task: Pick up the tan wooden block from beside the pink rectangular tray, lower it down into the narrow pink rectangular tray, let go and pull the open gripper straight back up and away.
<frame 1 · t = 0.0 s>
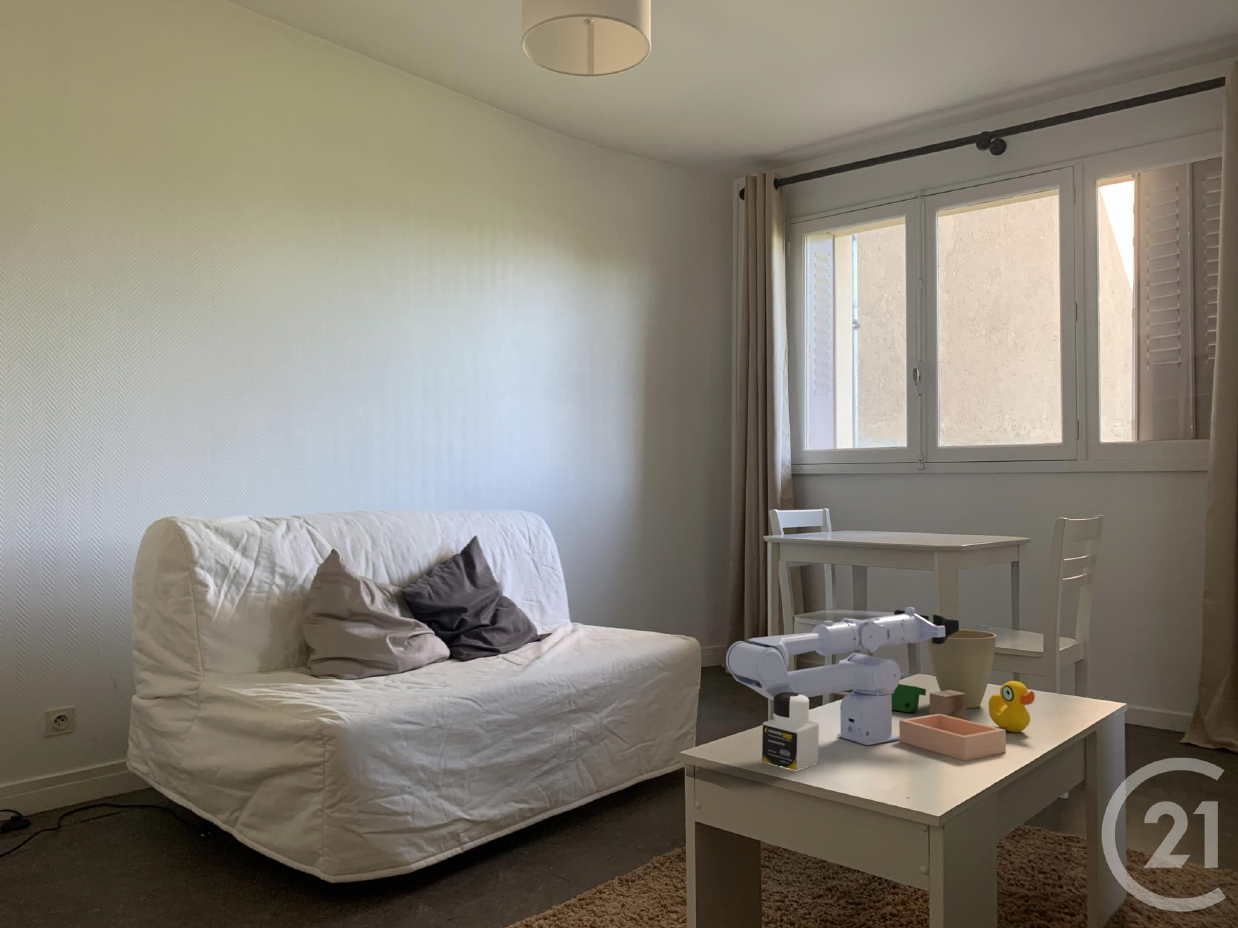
hand: (942, 623, 187), 21 cm above the table, tool horizontal, fingers open, 7 cm apart
pink rectangular tray: (951, 746, 170), on the table
medicine bottle: (790, 764, 159), on the table, touching arm
tan wooden block: (948, 728, 184), on the table
clamp: (897, 709, 202), on the table
plant pot: (961, 705, 206), on the table
duckling: (1011, 732, 182), on the table
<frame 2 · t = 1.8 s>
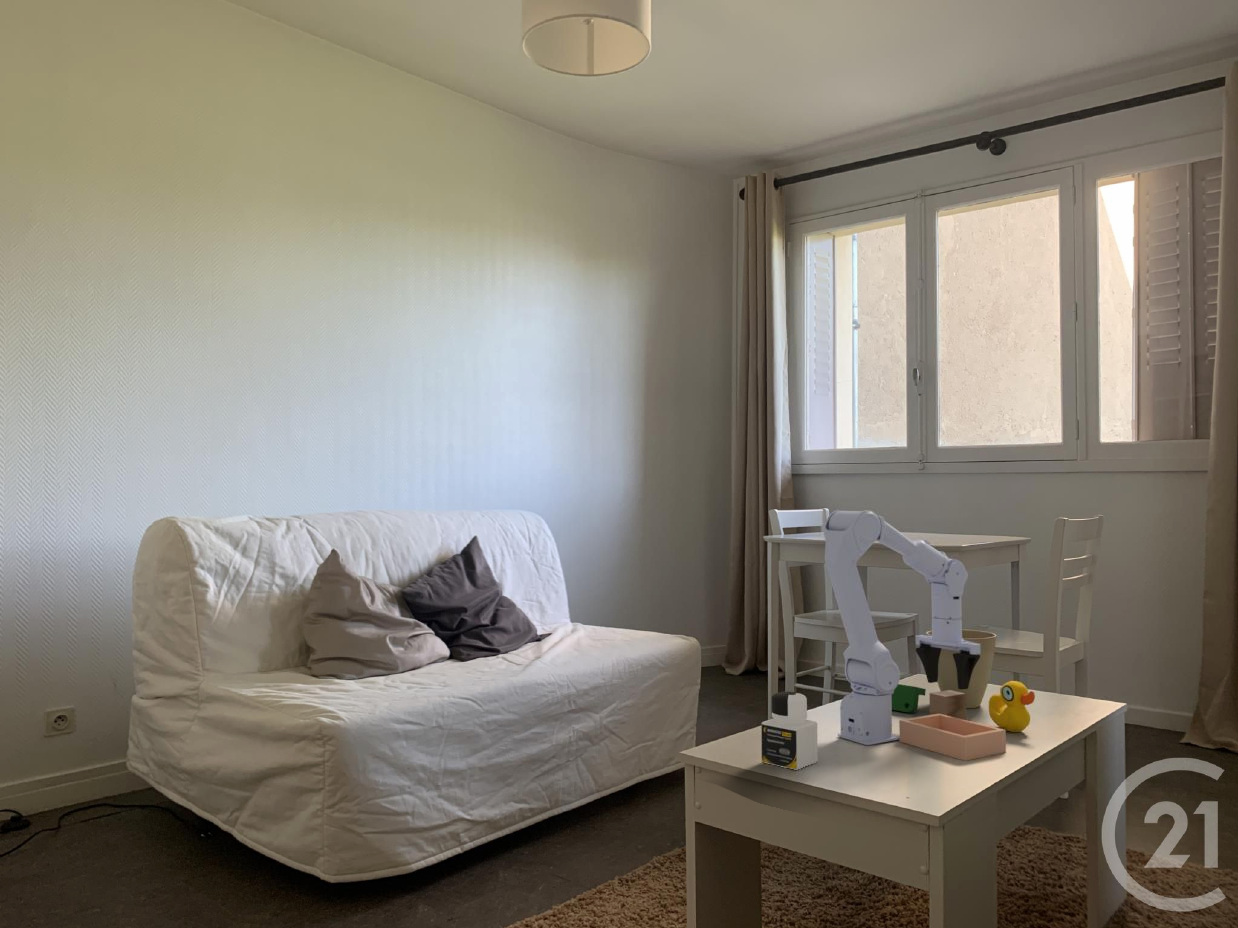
hand: (947, 685, 185), 8 cm above the table, tool pointing down, fingers open, 7 cm apart
medicine bottle: (789, 764, 159), on the table
everything else where it was.
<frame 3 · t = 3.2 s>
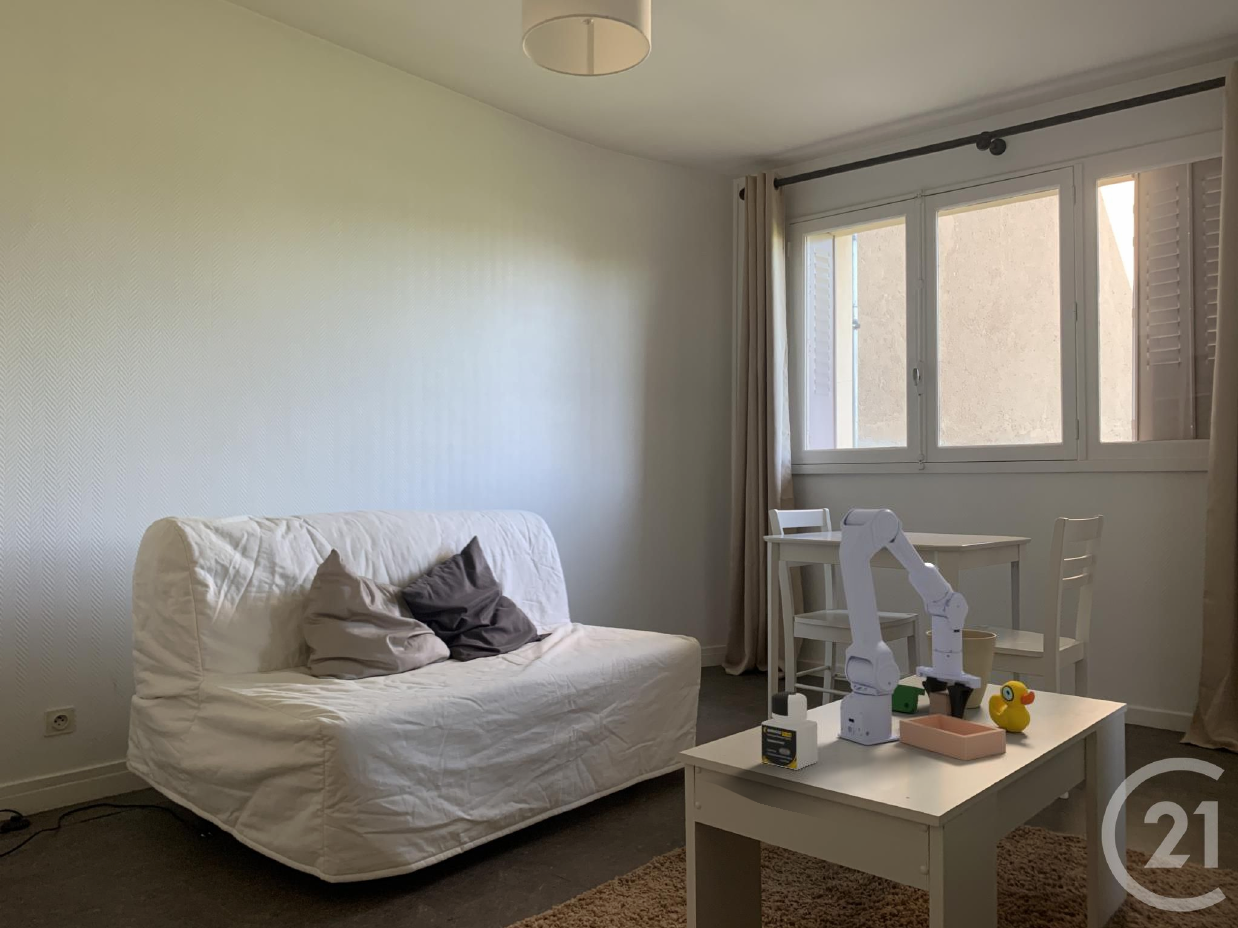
hand: (948, 718, 184), 2 cm above the table, tool pointing down, fingers closed on tan wooden block, 4 cm apart
tan wooden block: (948, 727, 184), on the table, touching gripper
everything else where it was.
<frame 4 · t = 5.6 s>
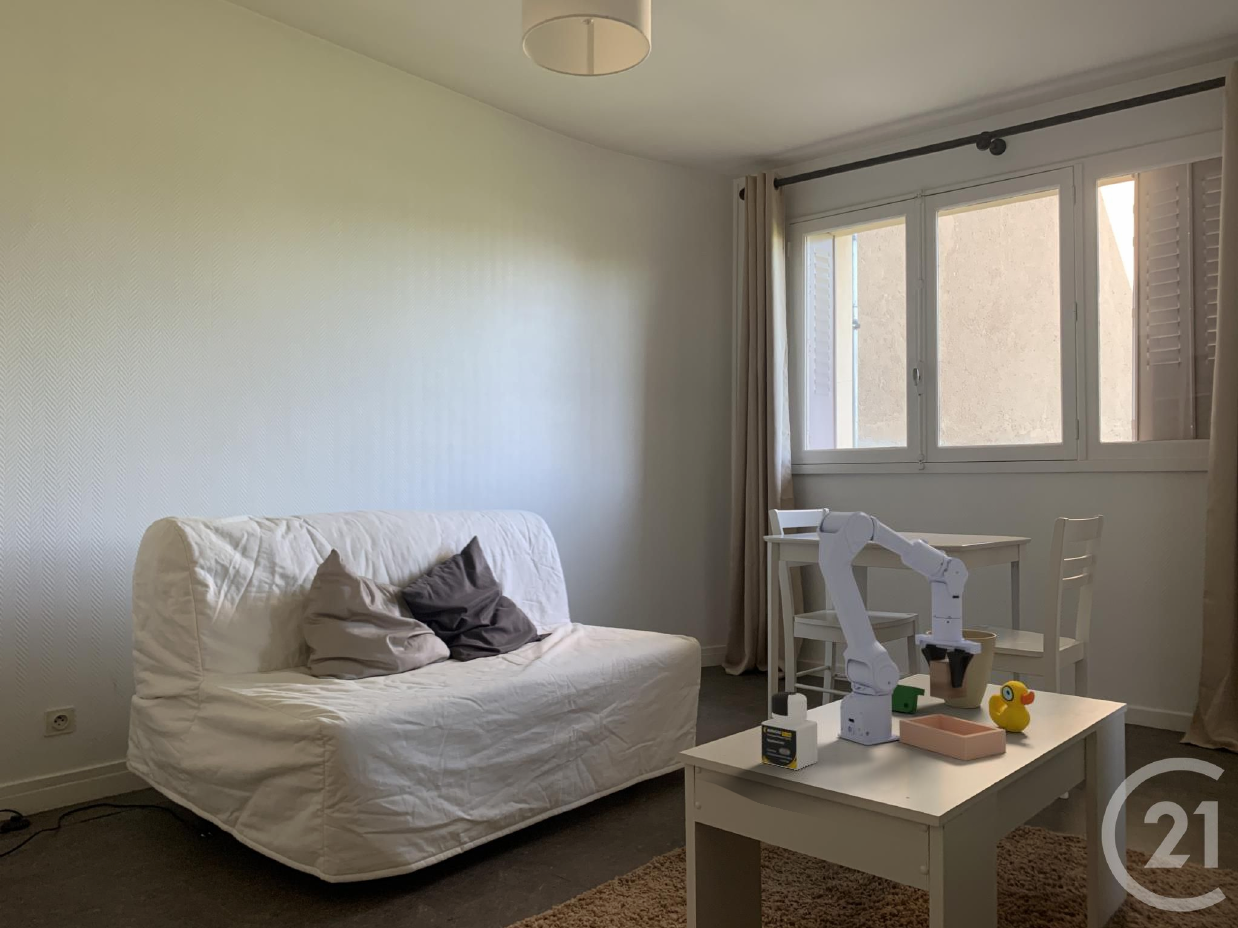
hand: (947, 685, 183), 9 cm above the table, tool pointing down, fingers closed on tan wooden block, 4 cm apart
tan wooden block: (948, 696, 183), point 7 cm above the table, touching gripper
everything else where it was.
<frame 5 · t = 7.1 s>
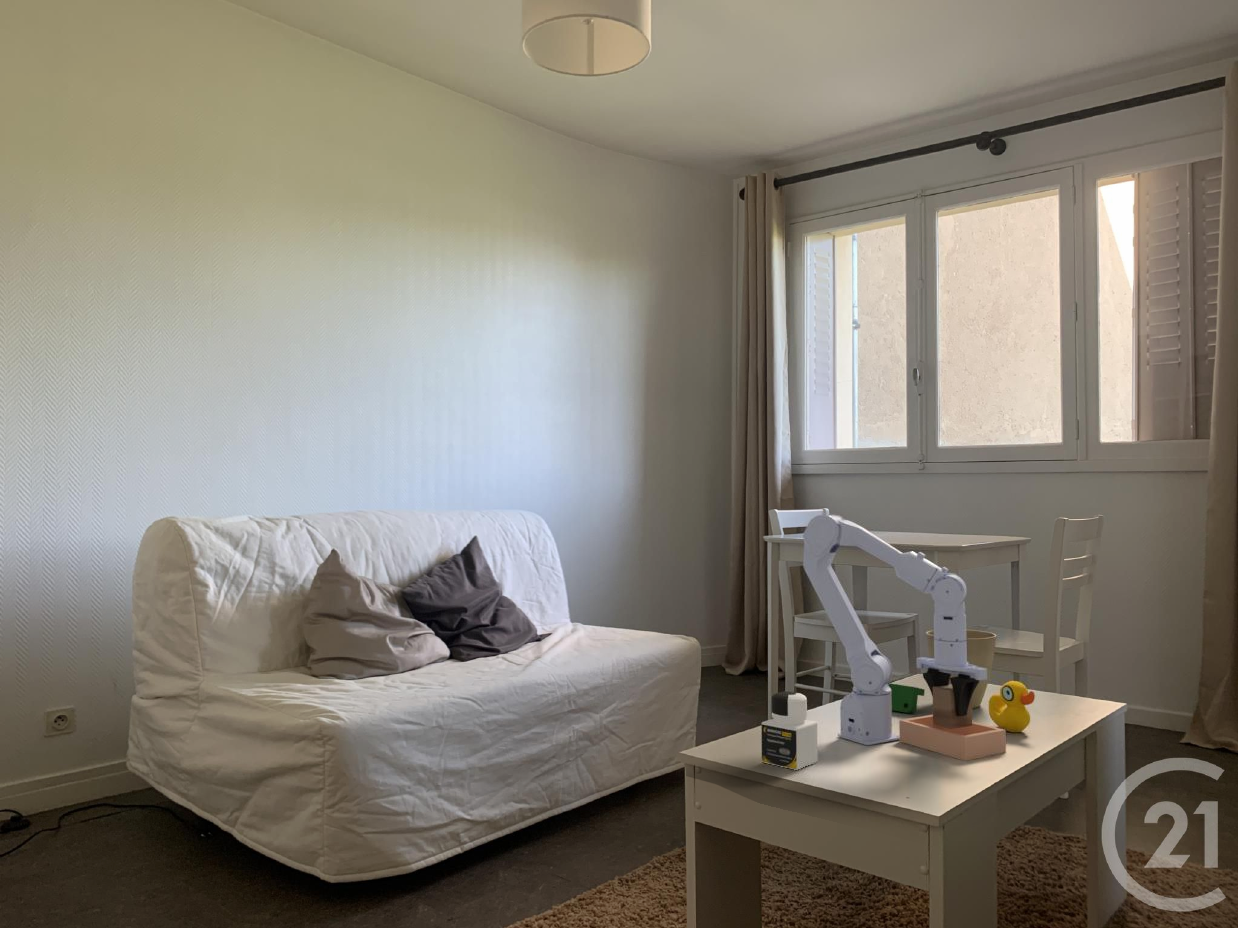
hand: (951, 712, 170), 6 cm above the table, tool pointing down, fingers closed on tan wooden block, 4 cm apart
tan wooden block: (952, 724, 170), point 4 cm above the table, touching gripper
everything else where it was.
when the fingers open (4 cm above the table, at t = 8.3 s): tan wooden block stays where it is, resting on pink rectangular tray.
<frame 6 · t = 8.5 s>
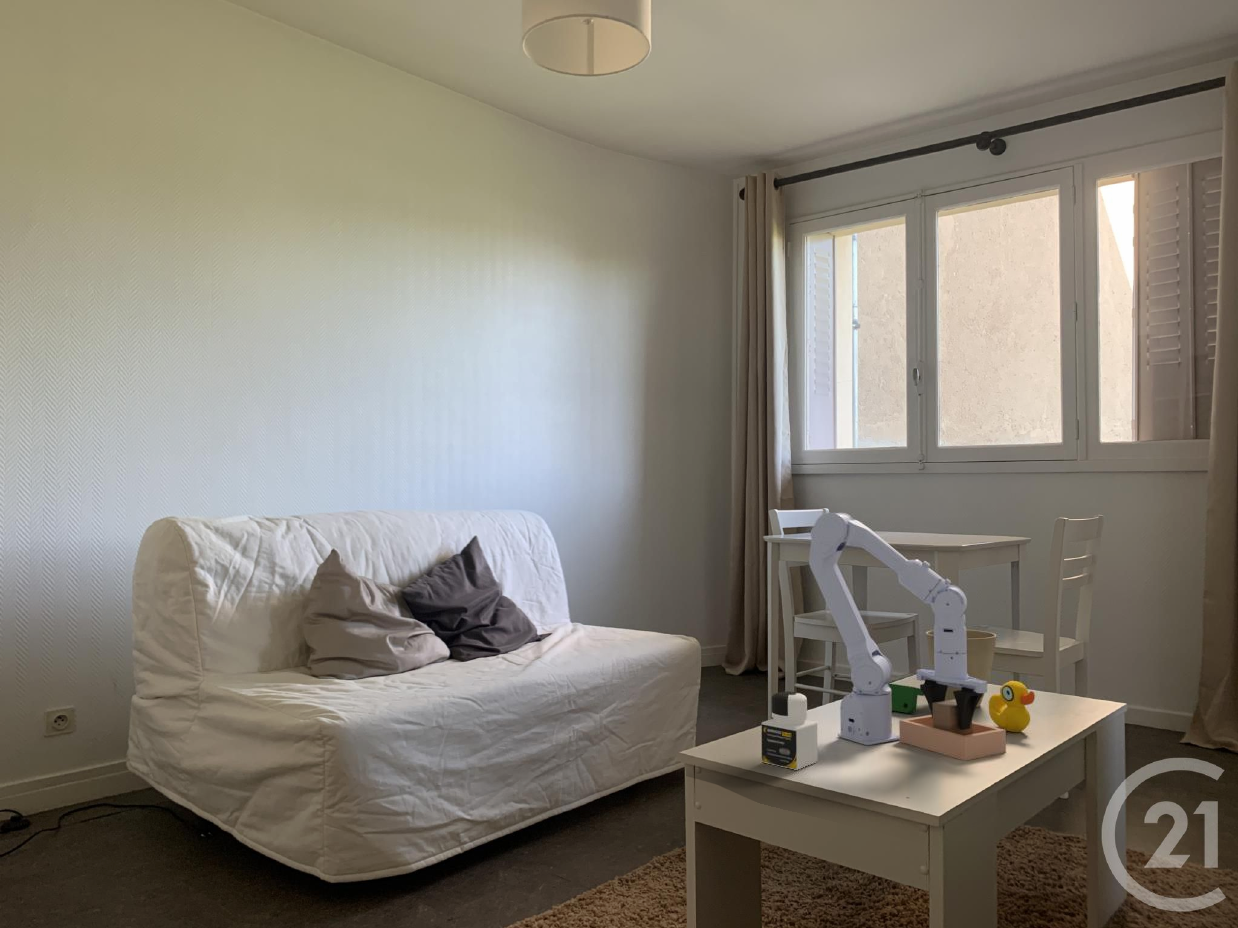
hand: (951, 725, 170), 4 cm above the table, tool pointing down, fingers open, 5 cm apart
tan wooden block: (952, 740, 170), point 1 cm above the table, touching pink rectangular tray
everything else where it was.
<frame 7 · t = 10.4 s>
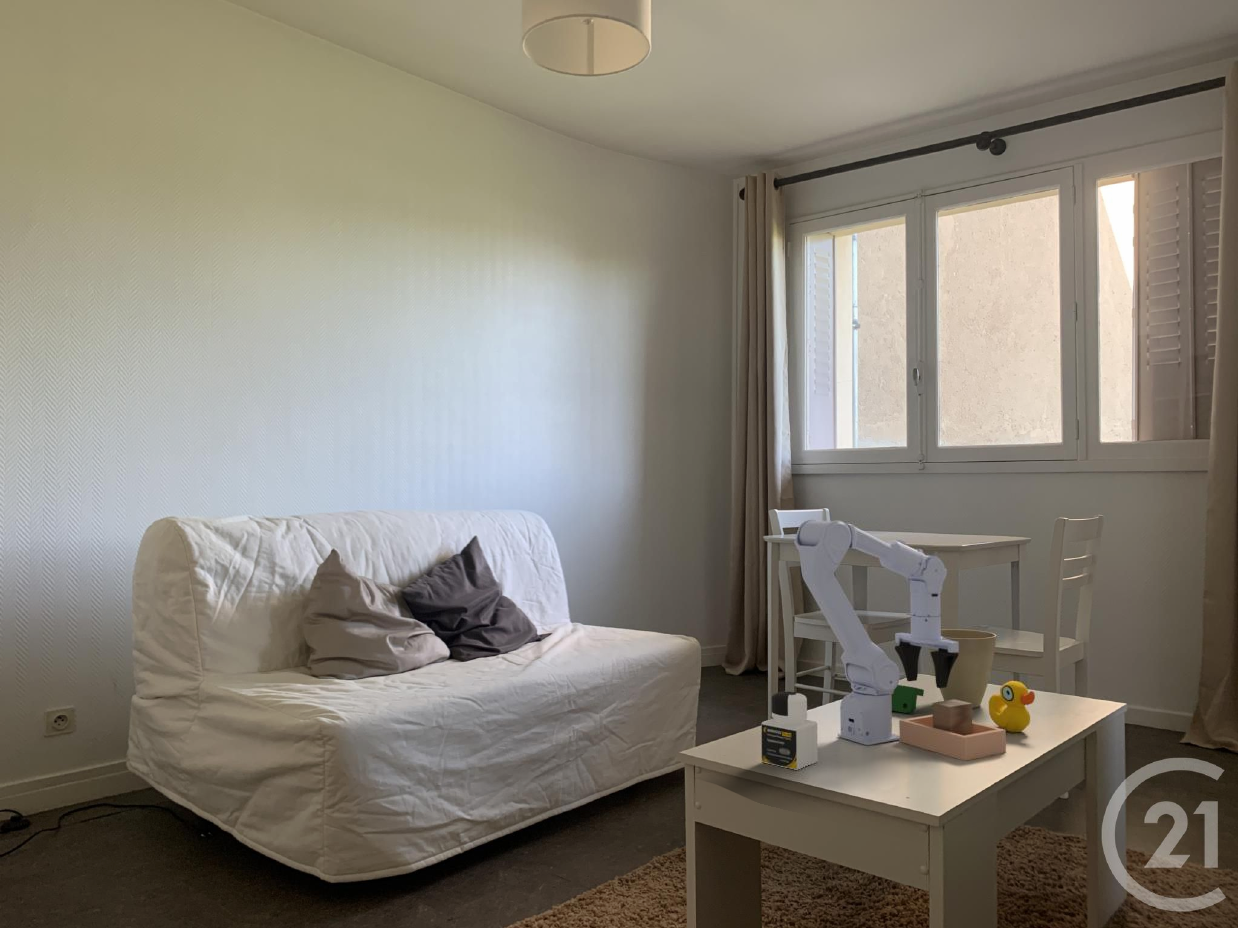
hand: (926, 683, 182), 9 cm above the table, tool pointing down, fingers open, 7 cm apart
nothing on the table moved.
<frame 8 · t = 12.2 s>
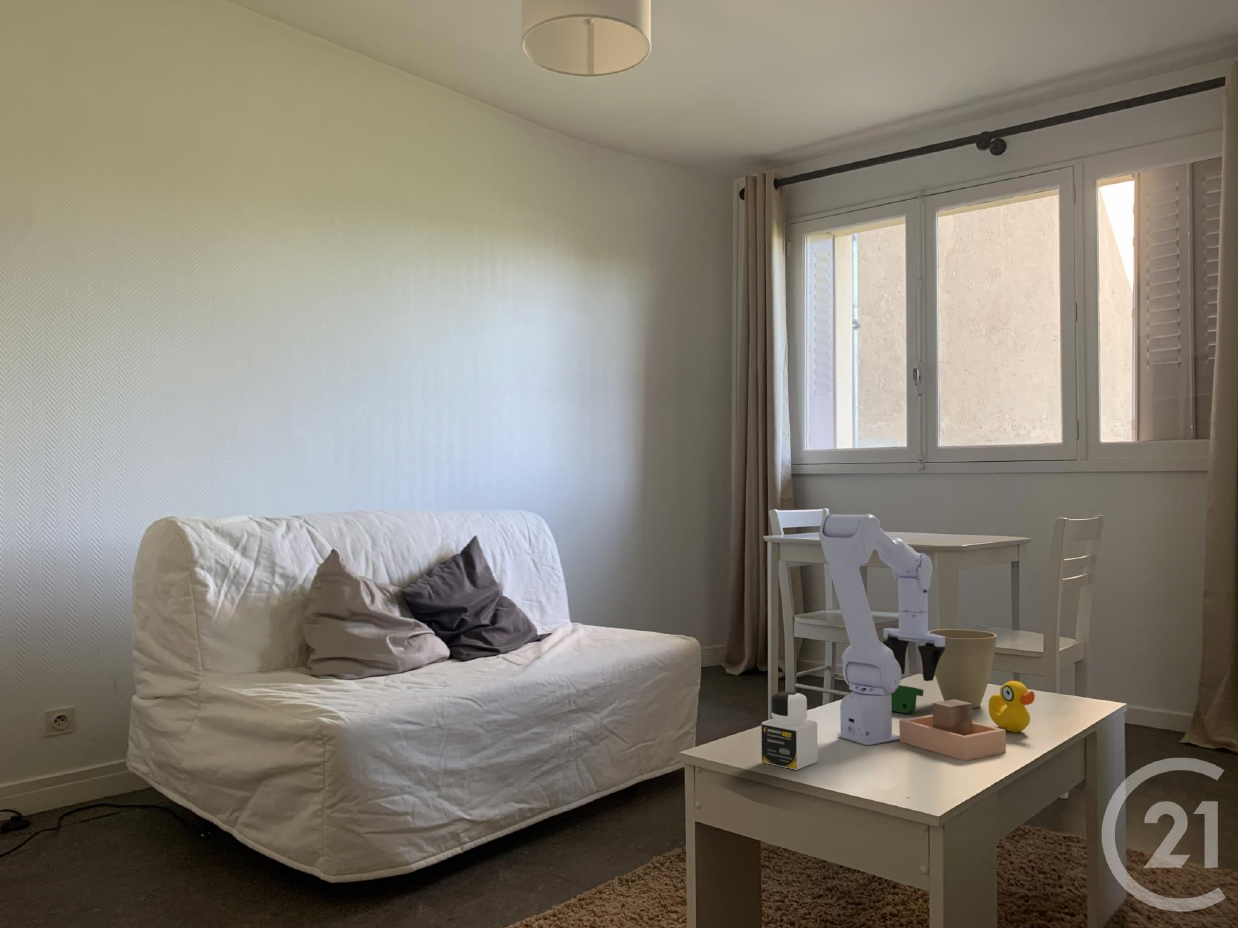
hand: (913, 677, 188), 9 cm above the table, tool pointing down, fingers open, 7 cm apart
at the end: tan wooden block 0.3 cm off-centre on the pink rectangular tray, point 1.0 cm above the pink rectangular tray's base; tan wooden block tilted 0°; the gripper is holding nothing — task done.
